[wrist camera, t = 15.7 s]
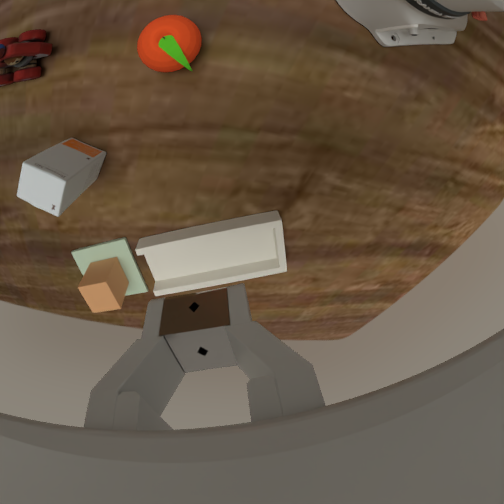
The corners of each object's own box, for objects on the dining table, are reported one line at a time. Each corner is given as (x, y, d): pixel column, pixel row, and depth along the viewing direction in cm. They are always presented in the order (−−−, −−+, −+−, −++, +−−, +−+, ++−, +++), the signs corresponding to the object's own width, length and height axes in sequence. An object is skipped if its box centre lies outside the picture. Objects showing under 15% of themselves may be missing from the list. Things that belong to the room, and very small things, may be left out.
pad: (125, 237, 39) (124, 239, 38) (148, 289, 44) (147, 291, 44) (72, 250, 39) (71, 252, 38) (98, 298, 44) (97, 300, 44)
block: (116, 256, 40) (106, 281, 35) (129, 282, 42) (120, 308, 37) (90, 262, 39) (77, 287, 34) (103, 287, 42) (93, 312, 37)
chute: (277, 210, 40) (281, 219, 37) (282, 259, 44) (287, 271, 42) (139, 238, 39) (135, 249, 37) (158, 283, 44) (155, 296, 42)
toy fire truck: (56, 75, 25) (10, 78, 16) (-6, 88, 22) (-52, 100, 14) (63, 27, 21) (19, 18, 12) (-1, 46, 19) (-46, 48, 10)
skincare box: (107, 151, 32) (67, 182, 22) (97, 179, 34) (58, 219, 24) (71, 135, 30) (21, 161, 20) (62, 163, 31) (15, 198, 21)
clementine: (219, 56, 28) (221, 49, 22) (172, 90, 29) (162, 92, 23) (181, 12, 24) (173, -5, 18) (134, 46, 25) (116, 39, 19)
